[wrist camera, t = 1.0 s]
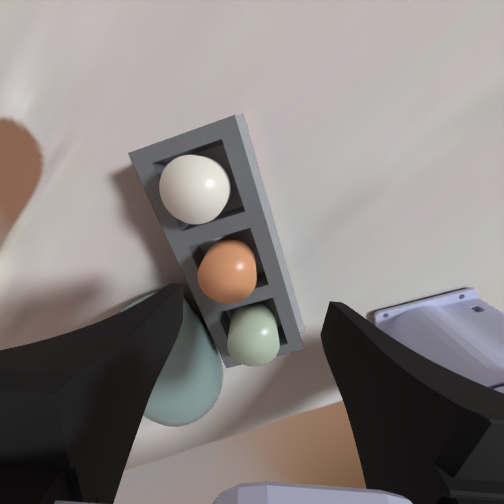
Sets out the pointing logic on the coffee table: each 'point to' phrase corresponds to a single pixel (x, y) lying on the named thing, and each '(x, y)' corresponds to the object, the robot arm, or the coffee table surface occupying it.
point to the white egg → (194, 188)
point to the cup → (186, 375)
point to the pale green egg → (253, 335)
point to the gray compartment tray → (226, 227)
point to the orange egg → (228, 271)
